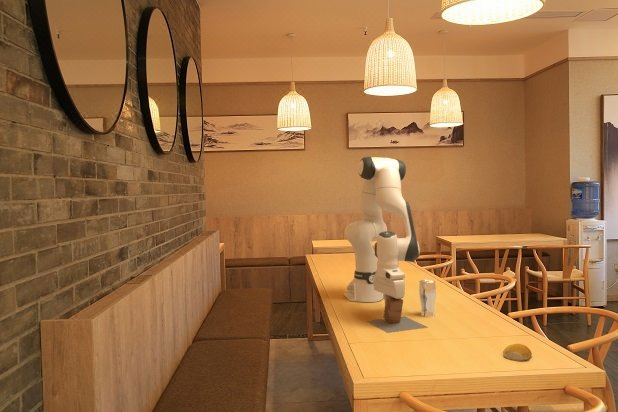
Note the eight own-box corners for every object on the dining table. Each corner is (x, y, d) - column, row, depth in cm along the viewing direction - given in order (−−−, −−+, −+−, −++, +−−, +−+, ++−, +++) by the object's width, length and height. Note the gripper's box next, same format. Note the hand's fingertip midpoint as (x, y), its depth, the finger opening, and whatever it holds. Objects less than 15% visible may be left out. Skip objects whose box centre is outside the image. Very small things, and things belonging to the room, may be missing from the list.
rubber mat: (366, 322, 210) (366, 321, 210) (404, 317, 216) (404, 316, 216) (387, 334, 193) (387, 332, 193) (428, 328, 199) (428, 327, 199)
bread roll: (533, 355, 168) (533, 343, 167) (527, 363, 160) (527, 350, 160) (507, 350, 172) (507, 339, 172) (499, 358, 165) (499, 346, 165)
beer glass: (424, 319, 213) (423, 283, 212) (416, 315, 220) (416, 280, 219) (439, 317, 215) (438, 282, 214) (431, 313, 222) (430, 279, 221)
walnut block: (383, 317, 209) (386, 295, 206) (394, 316, 211) (397, 294, 208) (389, 323, 205) (392, 301, 202) (400, 322, 207) (403, 300, 204)
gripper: (369, 268, 218) (370, 300, 219) (393, 276, 199) (393, 311, 200) (382, 267, 220) (383, 299, 221) (407, 274, 201) (408, 309, 202)
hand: (388, 305), depth 210 cm, fingers closed
